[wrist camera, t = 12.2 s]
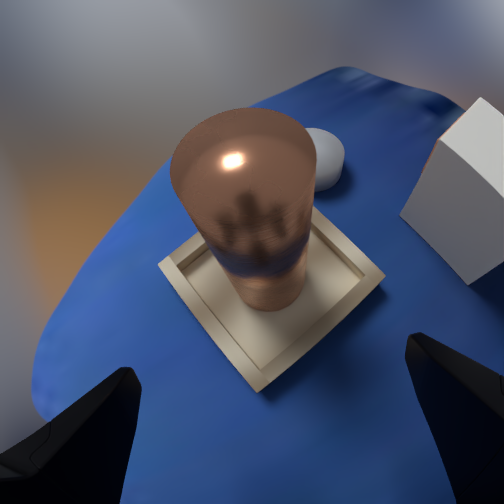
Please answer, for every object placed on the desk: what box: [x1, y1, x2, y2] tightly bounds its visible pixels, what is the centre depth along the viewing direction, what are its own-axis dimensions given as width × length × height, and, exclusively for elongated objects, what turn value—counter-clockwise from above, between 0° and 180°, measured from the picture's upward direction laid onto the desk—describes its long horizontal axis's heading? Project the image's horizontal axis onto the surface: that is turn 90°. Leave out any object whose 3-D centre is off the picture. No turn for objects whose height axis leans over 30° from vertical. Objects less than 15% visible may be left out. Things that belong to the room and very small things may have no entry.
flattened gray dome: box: [305, 128, 344, 192], centre depth 24 cm, size 5×5×2 cm
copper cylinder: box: [170, 108, 317, 312], centre depth 15 cm, size 5×5×12 cm
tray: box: [158, 206, 386, 393], centre depth 21 cm, size 11×11×2 cm
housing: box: [399, 97, 504, 285], centre depth 17 cm, size 8×8×9 cm
